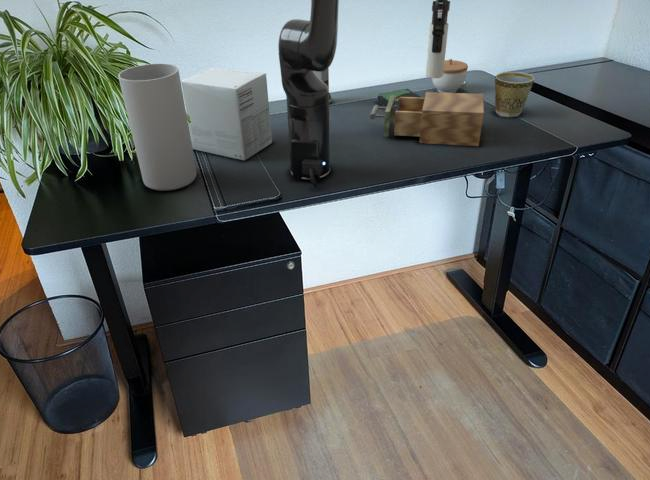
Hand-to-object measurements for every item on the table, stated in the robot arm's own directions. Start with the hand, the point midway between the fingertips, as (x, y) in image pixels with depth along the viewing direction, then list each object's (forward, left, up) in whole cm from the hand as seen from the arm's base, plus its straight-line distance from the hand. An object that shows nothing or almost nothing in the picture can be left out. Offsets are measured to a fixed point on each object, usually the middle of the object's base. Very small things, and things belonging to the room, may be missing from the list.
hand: (436, 49), depth 131 cm
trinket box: (+37, -3, -22) cm, 43 cm away
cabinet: (+1, -5, -21) cm, 22 cm away
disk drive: (+20, +9, -22) cm, 31 cm away
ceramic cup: (+20, -21, -22) cm, 36 cm away
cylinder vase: (-36, +58, -22) cm, 71 cm away
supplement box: (-15, +50, -22) cm, 56 cm away
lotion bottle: (0, 0, -6) cm, 6 cm away
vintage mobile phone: (+21, +34, -22) cm, 45 cm away
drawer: (+1, +6, -21) cm, 22 cm away
